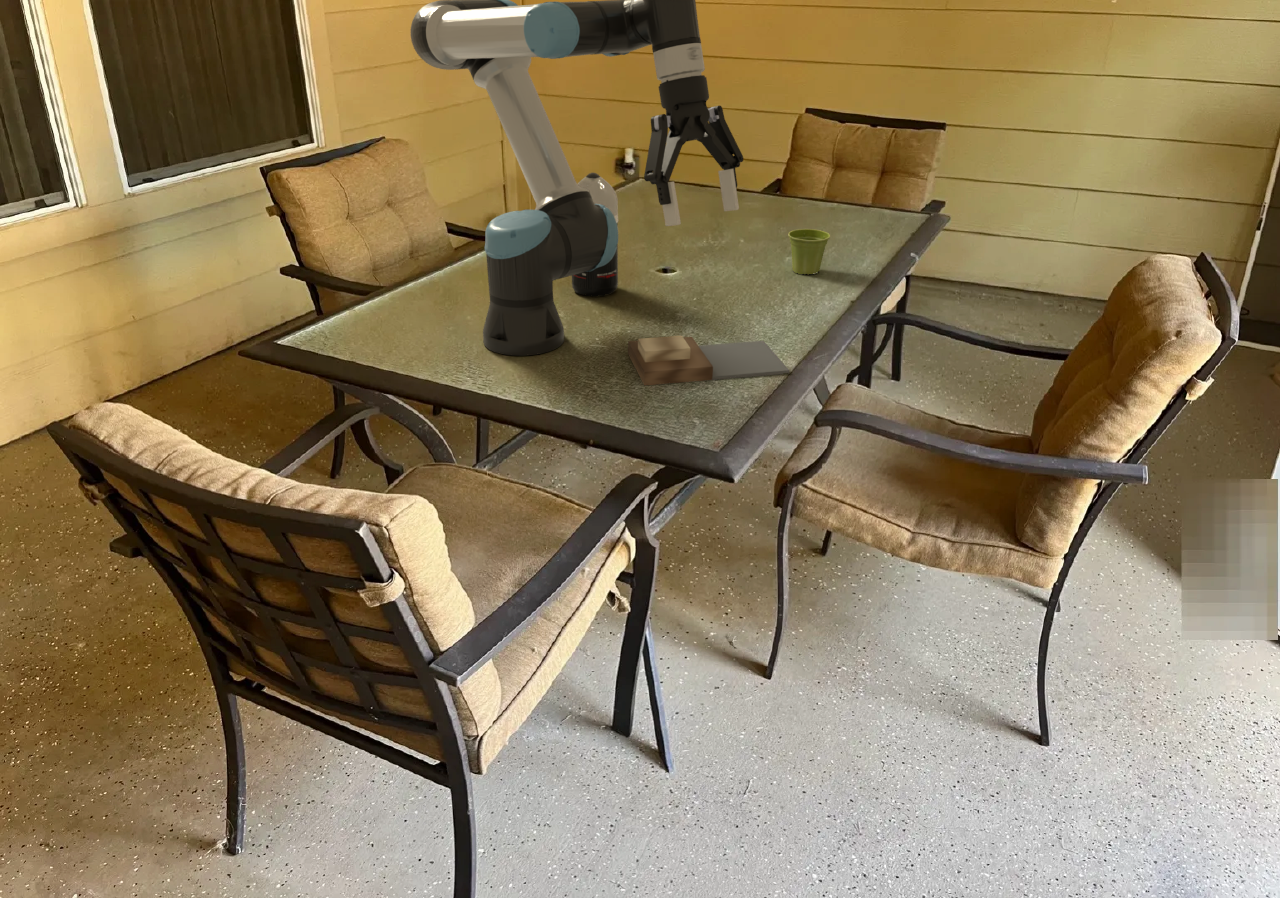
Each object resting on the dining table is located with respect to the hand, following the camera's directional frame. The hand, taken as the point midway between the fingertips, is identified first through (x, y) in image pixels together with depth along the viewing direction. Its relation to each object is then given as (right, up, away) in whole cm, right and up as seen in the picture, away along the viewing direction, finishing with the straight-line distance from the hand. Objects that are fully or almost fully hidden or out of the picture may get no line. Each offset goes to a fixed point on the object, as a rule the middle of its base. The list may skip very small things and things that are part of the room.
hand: (703, 217), depth 147 cm
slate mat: (+8, -21, +17) cm, 29 cm away
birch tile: (-6, -21, +14) cm, 25 cm away
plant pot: (+28, +3, +64) cm, 70 cm away
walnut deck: (-5, -23, +15) cm, 28 cm away
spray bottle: (-20, -3, +51) cm, 55 cm away
